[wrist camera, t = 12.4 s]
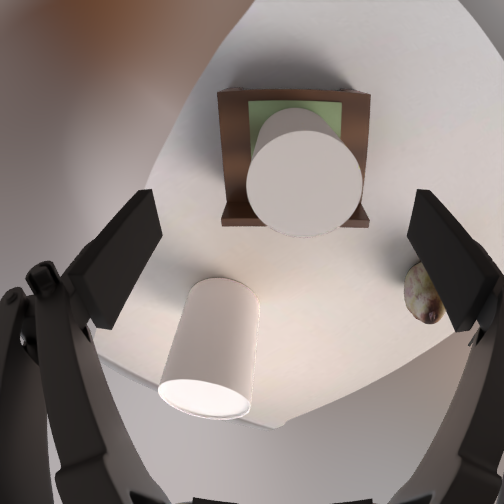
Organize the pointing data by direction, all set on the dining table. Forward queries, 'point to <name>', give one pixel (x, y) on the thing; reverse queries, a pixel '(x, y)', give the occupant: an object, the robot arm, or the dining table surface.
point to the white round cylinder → (302, 175)
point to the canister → (213, 352)
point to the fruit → (422, 296)
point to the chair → (254, 116)
